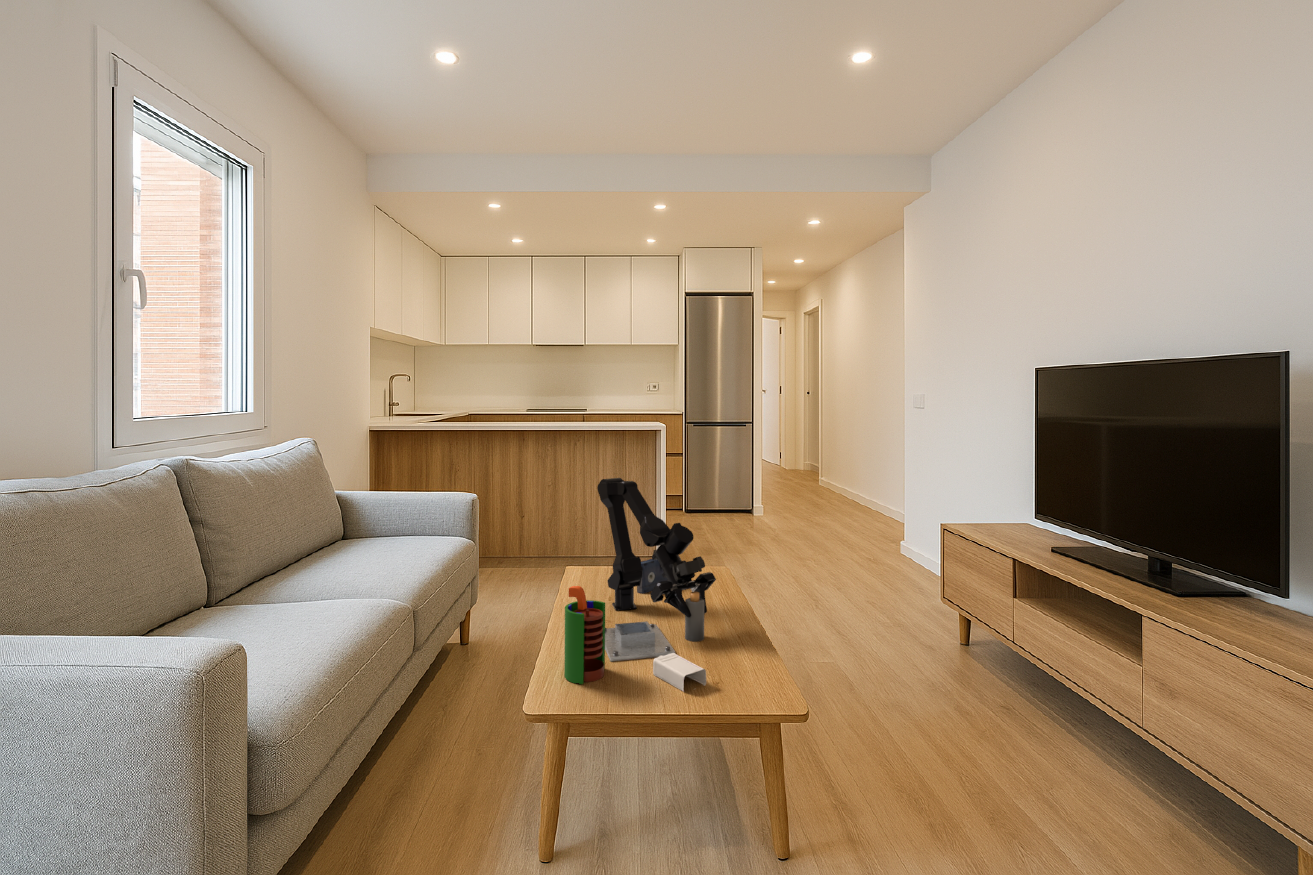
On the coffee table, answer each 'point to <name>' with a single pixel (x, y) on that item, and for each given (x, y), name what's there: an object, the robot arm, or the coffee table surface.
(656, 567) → the vhs cassette tape
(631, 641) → the pump mount
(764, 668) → the coffee table surface
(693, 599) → the grey and orange piece
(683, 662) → the white plastic end cap
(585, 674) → the motor
